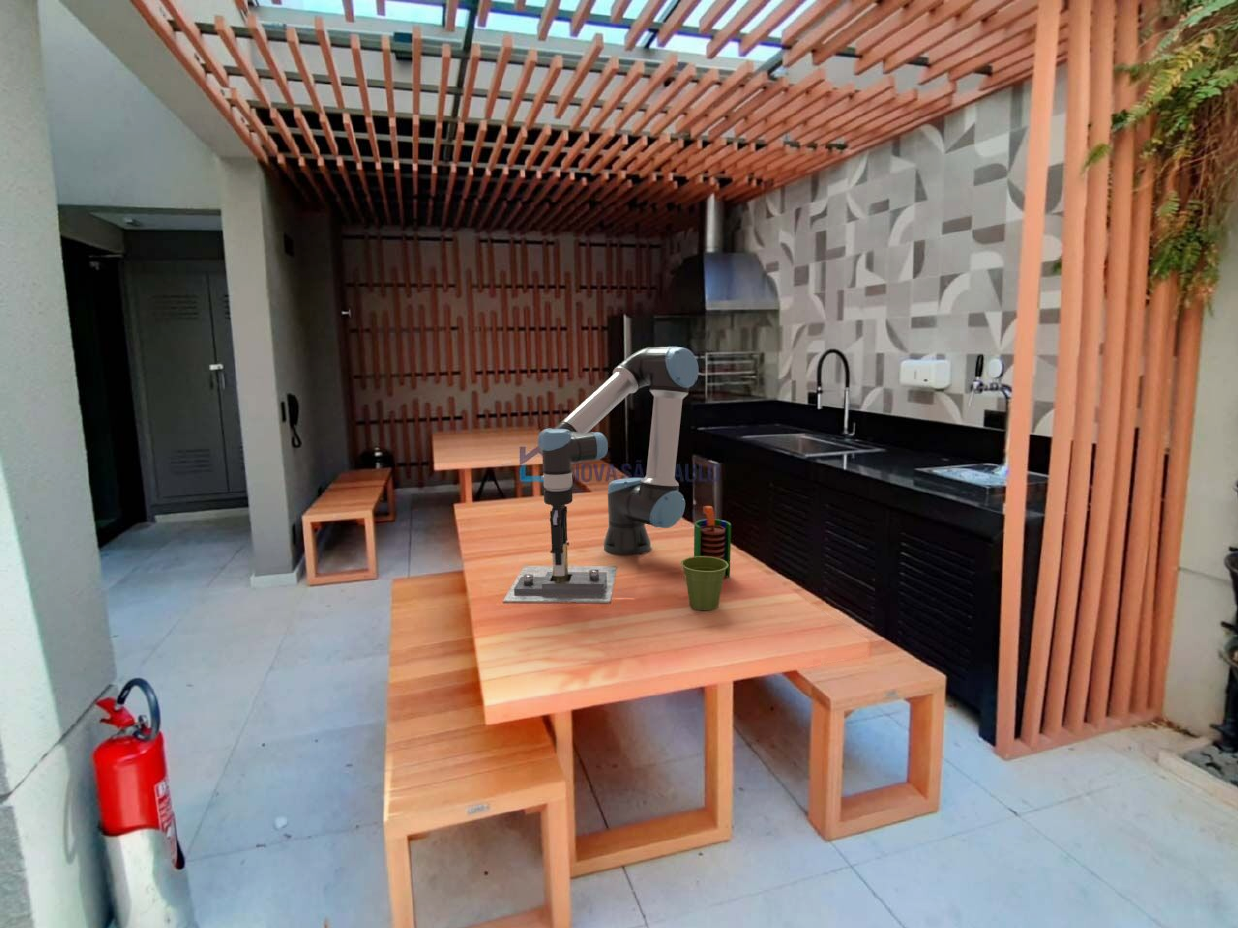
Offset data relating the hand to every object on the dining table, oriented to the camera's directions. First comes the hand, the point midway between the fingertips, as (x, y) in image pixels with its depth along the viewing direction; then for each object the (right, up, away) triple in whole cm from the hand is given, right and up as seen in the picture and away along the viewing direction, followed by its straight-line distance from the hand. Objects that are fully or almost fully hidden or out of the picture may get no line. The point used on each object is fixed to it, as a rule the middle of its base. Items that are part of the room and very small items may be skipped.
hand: (560, 572), depth 178 cm
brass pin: (0, -4, +1) cm, 4 cm away
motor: (+42, -3, +9) cm, 43 cm away
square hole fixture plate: (0, -4, +5) cm, 7 cm away
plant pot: (+37, -7, -11) cm, 40 cm away
